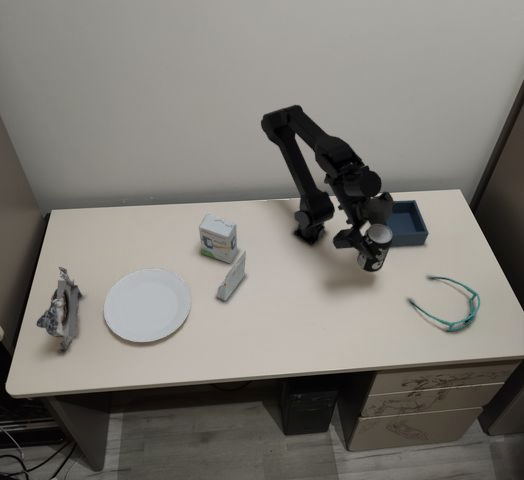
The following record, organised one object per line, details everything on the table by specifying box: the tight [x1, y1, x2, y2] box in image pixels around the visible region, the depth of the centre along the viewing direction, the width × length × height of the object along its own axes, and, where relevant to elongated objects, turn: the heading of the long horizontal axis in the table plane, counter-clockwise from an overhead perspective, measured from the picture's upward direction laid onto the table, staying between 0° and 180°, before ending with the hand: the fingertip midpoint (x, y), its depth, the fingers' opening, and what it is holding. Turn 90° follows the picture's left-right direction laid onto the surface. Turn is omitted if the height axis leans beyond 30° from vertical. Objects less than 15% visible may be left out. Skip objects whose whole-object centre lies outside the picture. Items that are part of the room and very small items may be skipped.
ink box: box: [198, 213, 238, 264], centre depth 127 cm, size 9×5×12 cm, turn 68°
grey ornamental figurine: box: [35, 266, 83, 353], centre depth 112 cm, size 15×4×13 cm, turn 4°
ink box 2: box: [217, 250, 247, 302], centre depth 121 cm, size 3×9×12 cm, turn 150°
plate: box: [103, 267, 192, 343], centre depth 119 cm, size 21×21×2 cm
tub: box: [386, 199, 430, 248], centre depth 138 cm, size 13×13×5 cm
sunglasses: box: [409, 276, 481, 332], centre depth 123 cm, size 14×15×5 cm
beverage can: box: [356, 224, 392, 273], centre depth 119 cm, size 7×7×12 cm
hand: (379, 250), depth 118 cm, fingers closed on beverage can, 6 cm apart
